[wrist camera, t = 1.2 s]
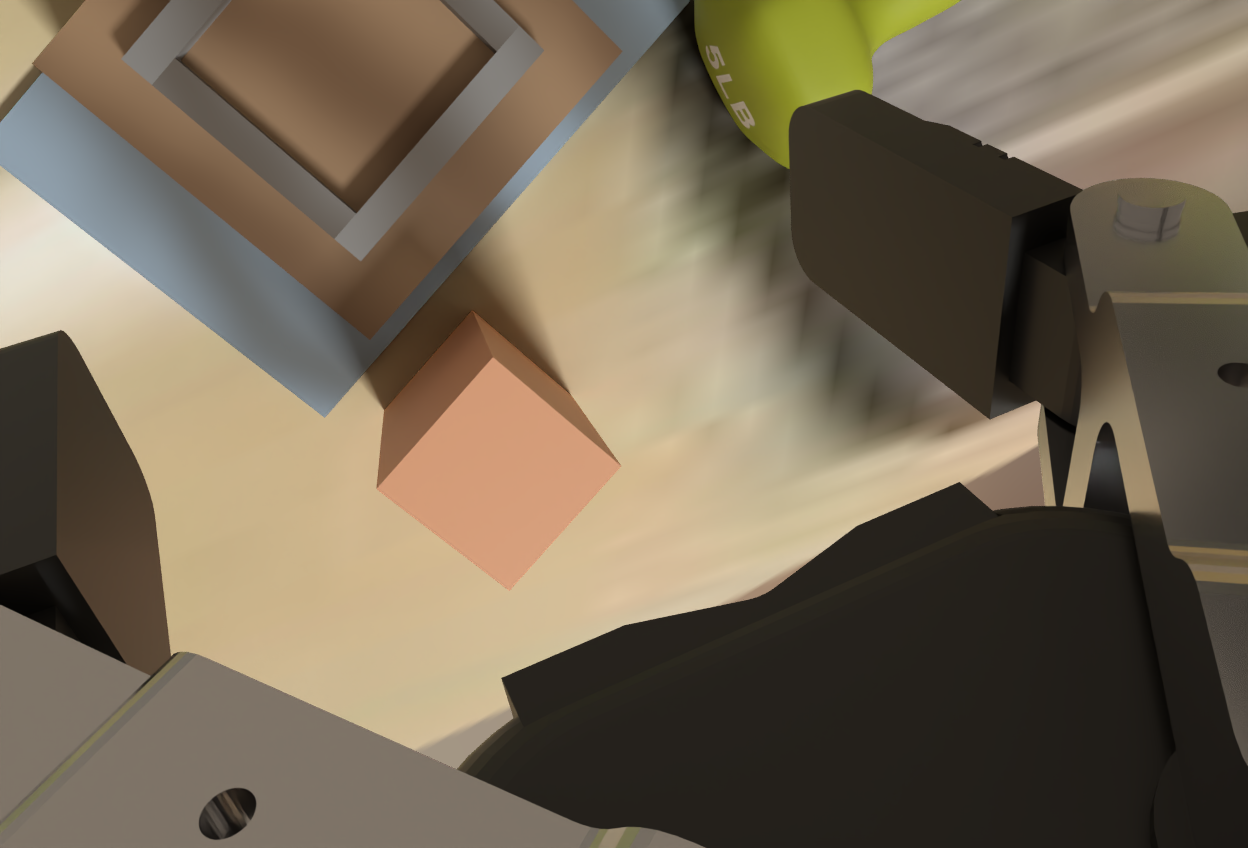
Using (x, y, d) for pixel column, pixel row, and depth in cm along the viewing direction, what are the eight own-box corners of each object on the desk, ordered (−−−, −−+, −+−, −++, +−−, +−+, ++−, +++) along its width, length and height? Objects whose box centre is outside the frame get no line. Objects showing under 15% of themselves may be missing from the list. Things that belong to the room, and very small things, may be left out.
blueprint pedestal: (380, -324, 34) (375, -428, 28) (687, 2, 38) (738, -28, 32) (-17, 148, 35) (-105, 145, 29) (325, 415, 39) (311, 460, 33)
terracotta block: (472, 309, 39) (493, 357, 30) (571, 395, 41) (620, 465, 31) (384, 410, 39) (376, 488, 30) (485, 490, 41) (509, 590, 31)
